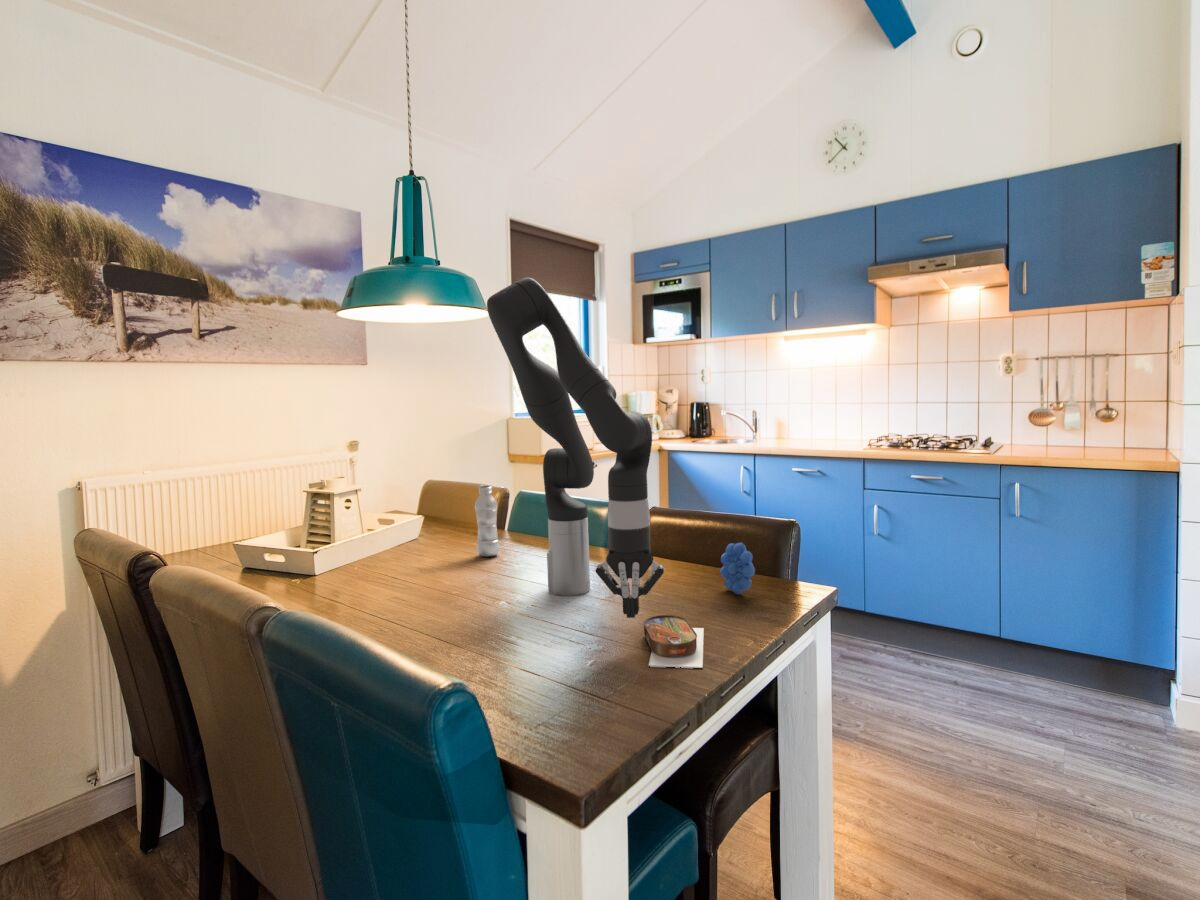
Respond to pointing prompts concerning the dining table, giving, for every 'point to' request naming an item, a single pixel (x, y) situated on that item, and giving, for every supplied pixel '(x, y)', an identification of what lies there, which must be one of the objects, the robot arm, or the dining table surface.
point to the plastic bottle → (486, 522)
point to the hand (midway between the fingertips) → (631, 616)
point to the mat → (682, 661)
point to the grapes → (737, 568)
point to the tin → (670, 635)
